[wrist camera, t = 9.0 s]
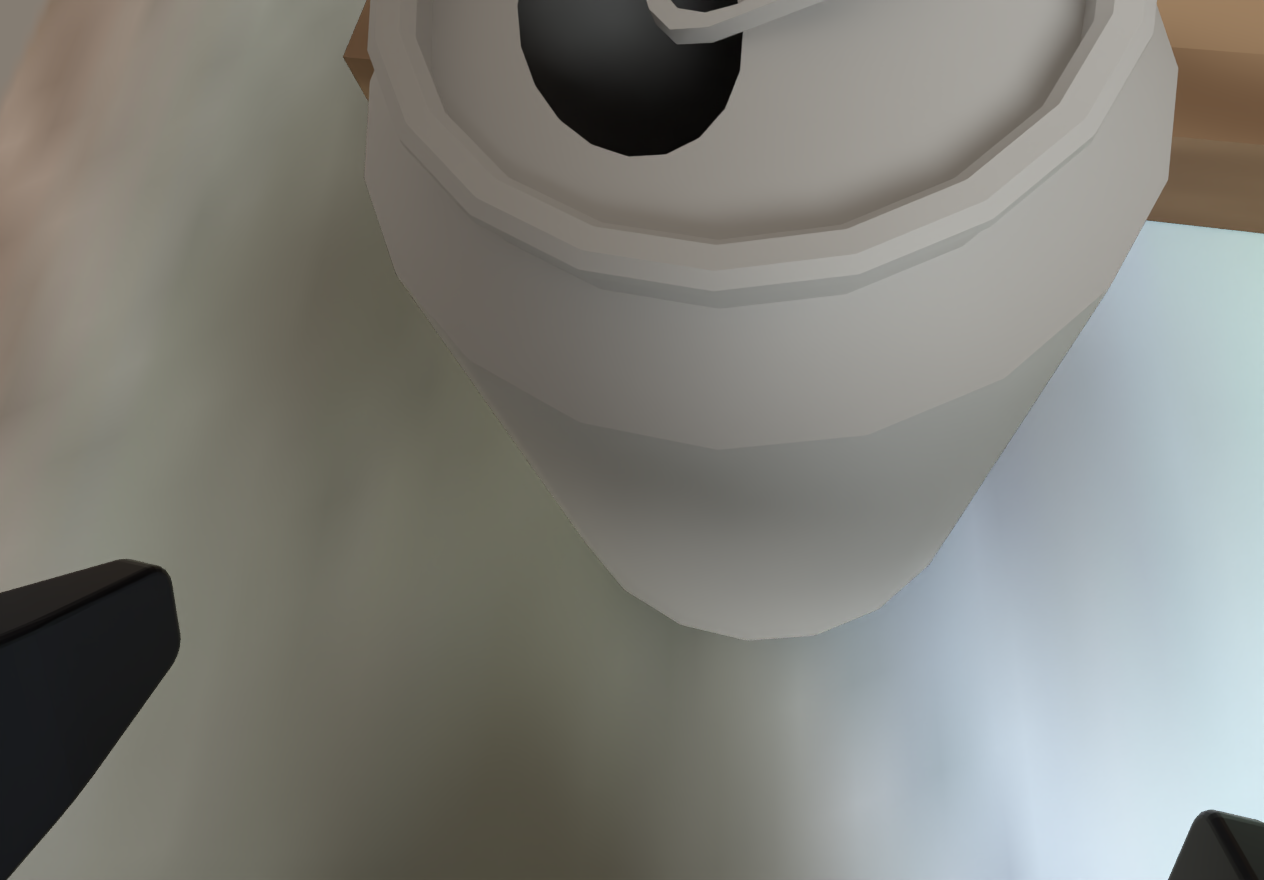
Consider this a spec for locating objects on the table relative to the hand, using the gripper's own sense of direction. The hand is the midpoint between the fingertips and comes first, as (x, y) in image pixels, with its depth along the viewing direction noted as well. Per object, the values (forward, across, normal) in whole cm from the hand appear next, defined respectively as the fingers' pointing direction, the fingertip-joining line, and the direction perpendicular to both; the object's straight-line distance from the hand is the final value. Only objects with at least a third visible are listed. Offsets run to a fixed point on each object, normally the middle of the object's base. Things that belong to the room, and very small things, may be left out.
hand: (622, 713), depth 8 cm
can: (+11, 0, +2) cm, 11 cm away
